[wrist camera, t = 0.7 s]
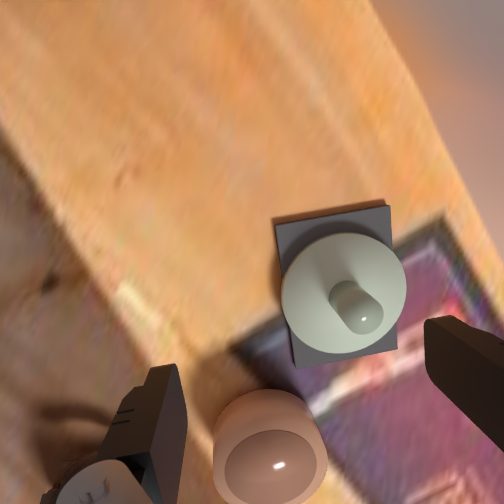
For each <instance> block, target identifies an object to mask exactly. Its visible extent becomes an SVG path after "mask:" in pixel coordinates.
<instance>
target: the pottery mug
mask: <svg viewBox="0 0 504 504" xmlns="http://www.w3.org/2000/svg"><path fill="white" fill-rule="evenodd" d="M98 452H99V451H97V450H95V451H92V452H90V453H88V454H86V455H84V456H82V457H81V458H78V459H76V460H72V461H65V462H63V463H62V470H61V485H60V487H59V486H58V485H54V487H53V488H52V489H50V490H49V491H48V492H47V493H46V494H43V495H42V498H41V502H40V504H56V502H57V498H58V496H59V494H60V492H61V490H62V489H63V487H64V486H65V485H66V484H67V482H68V481H69V480H70V479H71V478H72V477H74V476H75V475H76V474H77V473H79V472H80V471H81V470H83V469H85V468H86V467H88V466H90V465H92V464H93V463H94V461H95V459H96V457H97V454H98Z"/></svg>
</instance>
